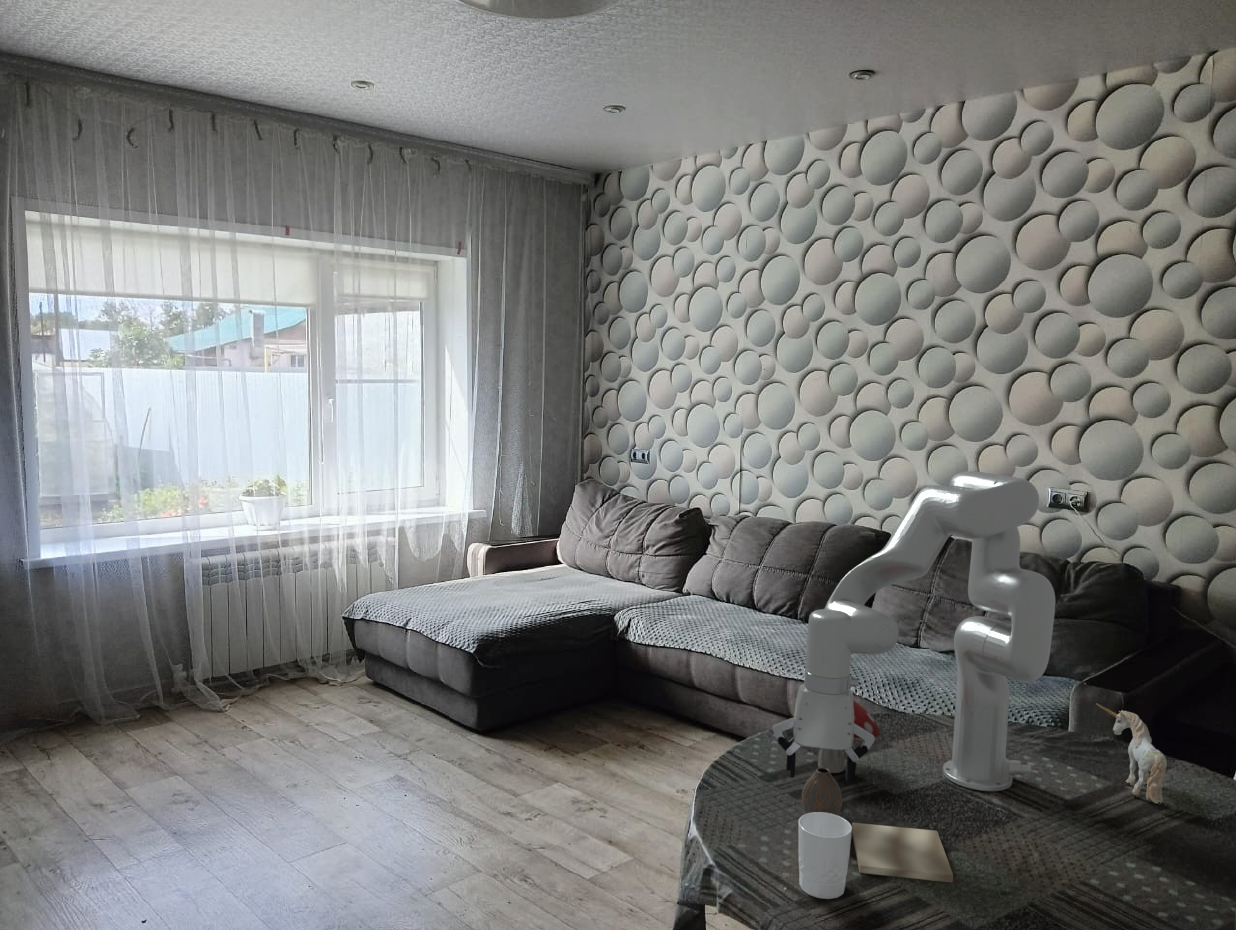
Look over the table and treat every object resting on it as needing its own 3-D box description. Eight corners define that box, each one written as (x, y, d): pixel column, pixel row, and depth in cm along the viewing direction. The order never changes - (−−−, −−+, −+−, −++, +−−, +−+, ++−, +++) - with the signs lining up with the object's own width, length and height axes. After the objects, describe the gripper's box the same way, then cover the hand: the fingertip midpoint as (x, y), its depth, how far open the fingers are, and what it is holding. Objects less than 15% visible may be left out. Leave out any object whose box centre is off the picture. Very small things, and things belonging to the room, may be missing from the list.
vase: (841, 830, 158) (844, 781, 158) (800, 825, 160) (802, 776, 159) (840, 811, 165) (842, 764, 164) (800, 806, 167) (803, 760, 166)
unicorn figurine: (1124, 767, 187) (1130, 703, 185) (1189, 813, 168) (1196, 742, 166) (1090, 767, 186) (1095, 703, 185) (1151, 814, 167) (1158, 742, 166)
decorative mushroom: (798, 748, 192) (801, 678, 191) (877, 758, 188) (881, 687, 186) (791, 780, 177) (794, 704, 175) (877, 792, 173) (881, 715, 171)
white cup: (789, 873, 144) (792, 812, 143) (838, 872, 145) (842, 811, 144) (803, 902, 137) (806, 838, 136) (856, 901, 137) (859, 837, 136)
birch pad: (936, 837, 157) (937, 830, 156) (952, 882, 143) (953, 875, 143) (851, 829, 159) (851, 822, 159) (859, 872, 145) (859, 865, 145)
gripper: (875, 680, 162) (868, 774, 164) (775, 670, 165) (769, 763, 166) (880, 694, 155) (873, 792, 156) (776, 684, 158) (769, 781, 159)
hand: (819, 777), depth 161 cm, fingers open, 9 cm apart
